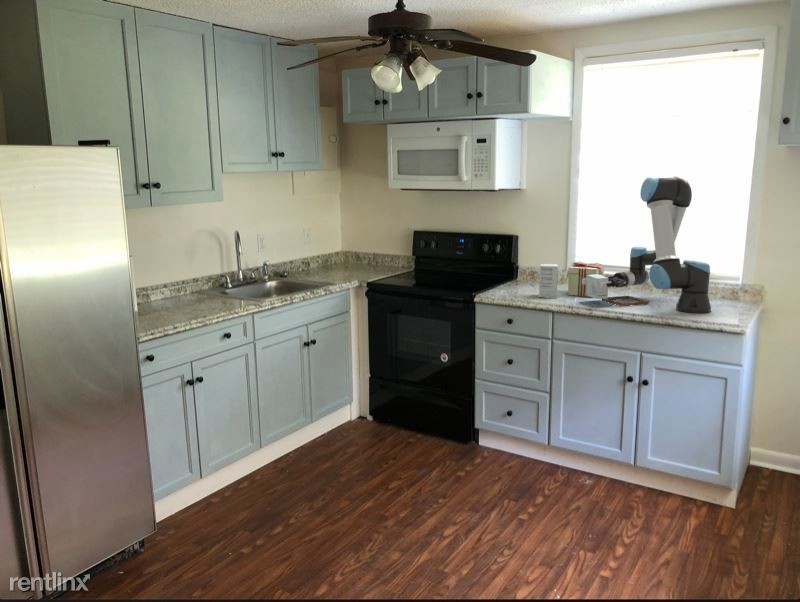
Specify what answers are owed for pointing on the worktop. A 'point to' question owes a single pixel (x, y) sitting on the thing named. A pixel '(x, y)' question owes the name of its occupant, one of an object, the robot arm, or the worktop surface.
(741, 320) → the worktop surface
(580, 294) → the gift box
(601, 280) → the skincare box
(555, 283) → the supplement box
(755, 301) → the worktop surface
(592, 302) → the rubber mat
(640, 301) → the walnut collar
